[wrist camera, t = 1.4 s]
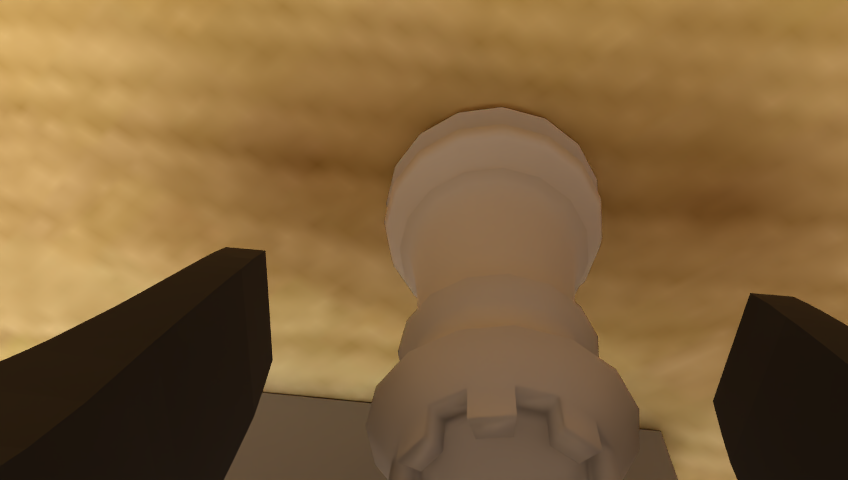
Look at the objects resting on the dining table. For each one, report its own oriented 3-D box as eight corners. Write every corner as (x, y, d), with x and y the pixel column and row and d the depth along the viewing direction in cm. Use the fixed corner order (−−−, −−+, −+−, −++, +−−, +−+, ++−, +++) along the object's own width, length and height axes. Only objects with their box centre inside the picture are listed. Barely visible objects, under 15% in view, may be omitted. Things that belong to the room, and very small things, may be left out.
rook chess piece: (478, 321, 15) (478, 673, 8) (347, 191, 14) (212, 476, 7) (638, 212, 14) (807, 534, 7) (506, 53, 12) (542, 243, 5)
